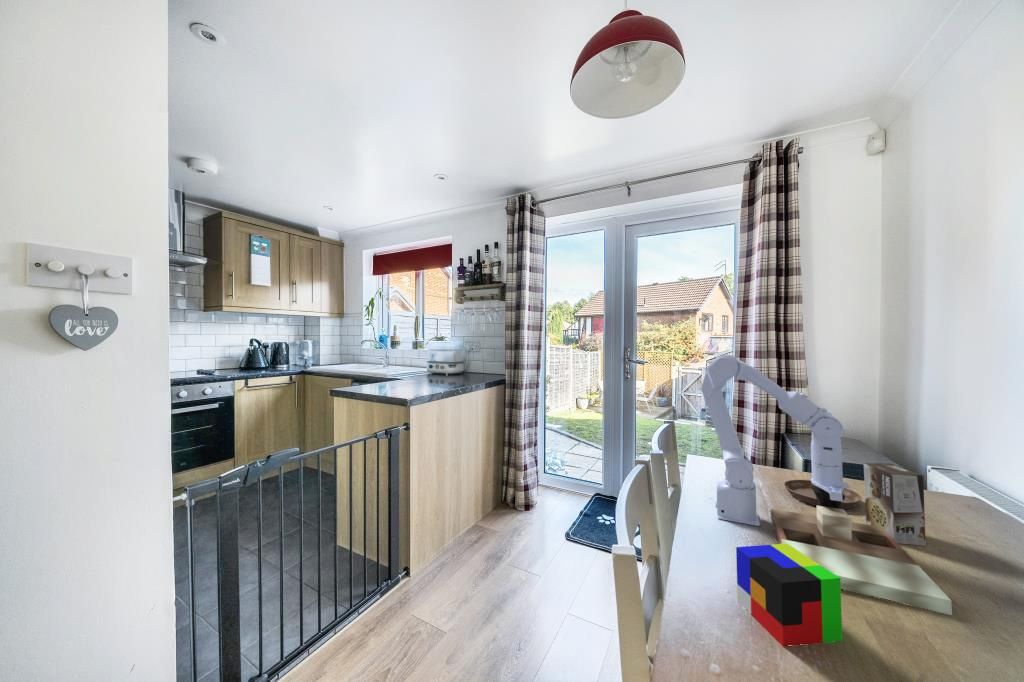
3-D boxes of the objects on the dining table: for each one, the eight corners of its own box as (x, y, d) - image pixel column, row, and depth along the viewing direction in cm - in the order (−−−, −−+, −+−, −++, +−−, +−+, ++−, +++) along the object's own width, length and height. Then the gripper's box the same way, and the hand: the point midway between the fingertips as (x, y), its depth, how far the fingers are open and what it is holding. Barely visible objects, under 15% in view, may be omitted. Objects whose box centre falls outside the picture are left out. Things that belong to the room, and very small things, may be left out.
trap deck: (791, 577, 72) (791, 565, 72) (770, 518, 97) (770, 508, 97) (951, 615, 62) (951, 600, 62) (882, 537, 86) (882, 527, 86)
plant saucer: (783, 484, 120) (783, 474, 120) (855, 496, 110) (855, 486, 110) (785, 503, 106) (784, 493, 106) (868, 519, 96) (868, 507, 96)
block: (823, 535, 83) (822, 514, 83) (817, 526, 87) (816, 505, 87) (851, 541, 81) (851, 518, 81) (844, 530, 85) (843, 509, 85)
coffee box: (927, 546, 82) (925, 475, 83) (894, 543, 84) (892, 474, 84) (894, 526, 91) (892, 462, 91) (864, 524, 93) (862, 461, 93)
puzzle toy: (737, 602, 66) (736, 547, 66) (788, 597, 67) (786, 543, 67) (783, 647, 56) (781, 582, 56) (842, 641, 57) (840, 578, 57)
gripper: (859, 475, 79) (861, 537, 79) (838, 457, 92) (840, 510, 92) (818, 470, 83) (820, 530, 83) (803, 453, 96) (805, 505, 95)
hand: (828, 519), depth 88 cm, fingers closed
